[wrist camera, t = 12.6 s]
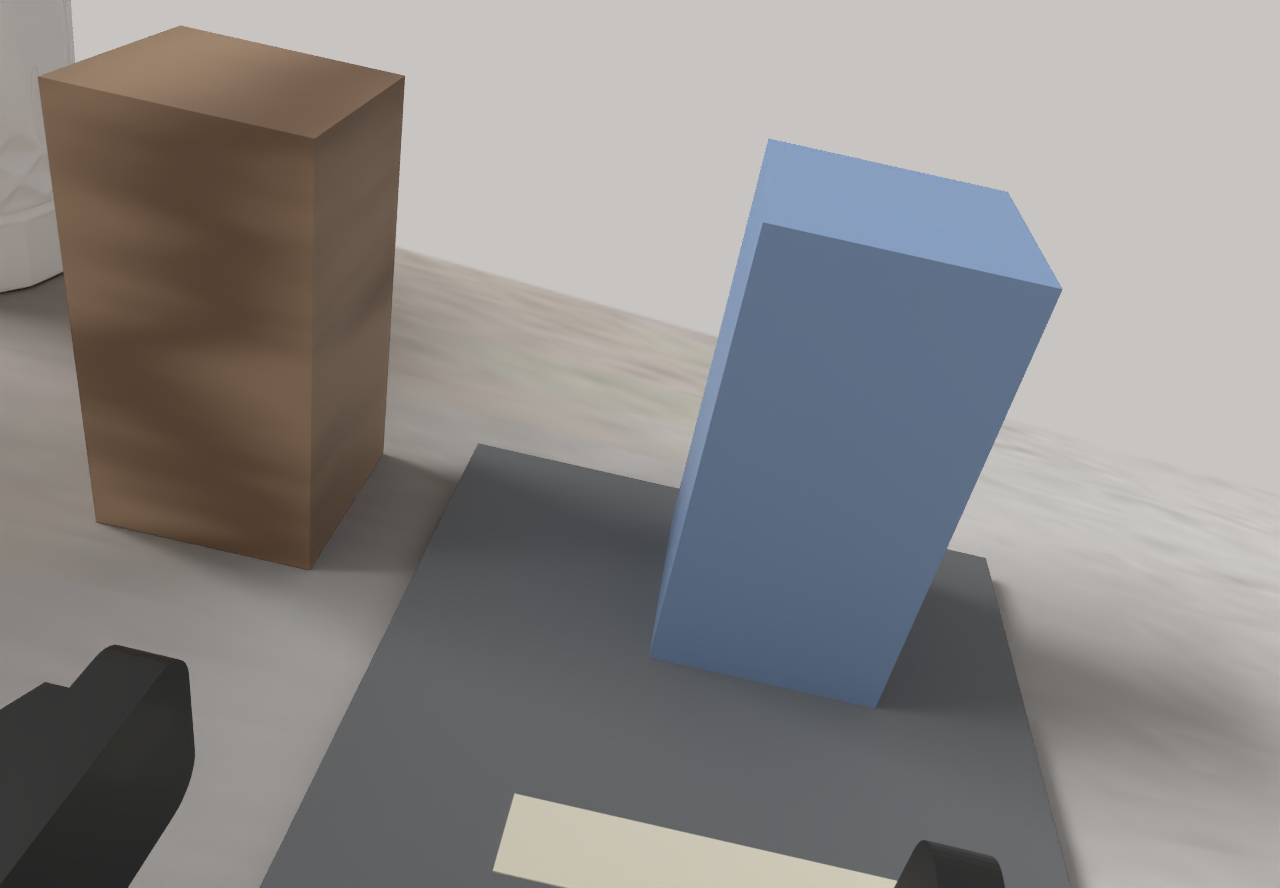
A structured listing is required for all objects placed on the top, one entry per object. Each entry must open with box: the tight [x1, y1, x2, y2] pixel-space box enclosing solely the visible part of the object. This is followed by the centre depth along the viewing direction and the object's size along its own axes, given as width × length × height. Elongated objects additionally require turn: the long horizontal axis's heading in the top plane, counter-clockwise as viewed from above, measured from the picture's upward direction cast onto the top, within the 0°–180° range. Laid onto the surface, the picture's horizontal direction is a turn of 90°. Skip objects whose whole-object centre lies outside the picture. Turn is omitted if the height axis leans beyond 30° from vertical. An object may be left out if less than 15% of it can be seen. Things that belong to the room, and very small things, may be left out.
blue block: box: [649, 139, 1062, 709], centre depth 22 cm, size 5×5×10 cm
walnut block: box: [38, 26, 405, 570], centre depth 23 cm, size 5×5×10 cm
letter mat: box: [260, 444, 1071, 888], centre depth 18 cm, size 14×22×1 cm, turn 172°
